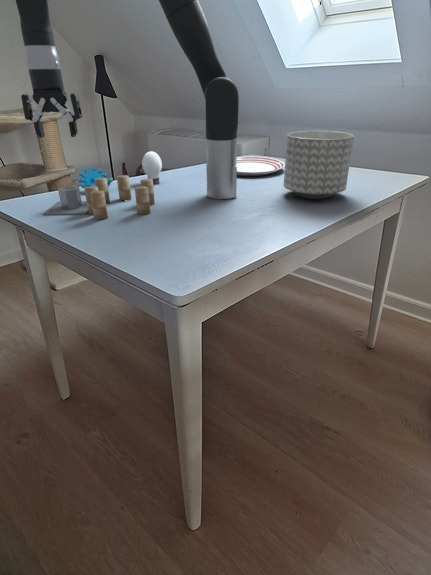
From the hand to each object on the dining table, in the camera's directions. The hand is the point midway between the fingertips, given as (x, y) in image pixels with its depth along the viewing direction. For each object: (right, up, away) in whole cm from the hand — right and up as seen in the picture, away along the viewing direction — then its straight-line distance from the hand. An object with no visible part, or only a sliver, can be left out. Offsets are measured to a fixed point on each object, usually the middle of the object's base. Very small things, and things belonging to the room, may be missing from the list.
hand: (57, 136), depth 105 cm
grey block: (0, -17, +9) cm, 19 cm away
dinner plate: (+56, +6, +52) cm, 77 cm away
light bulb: (+20, -3, +35) cm, 40 cm away
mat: (0, -17, +9) cm, 20 cm away
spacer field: (+15, -17, +9) cm, 25 cm away
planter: (+73, -12, +19) cm, 76 cm away
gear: (+3, -8, +26) cm, 28 cm away
